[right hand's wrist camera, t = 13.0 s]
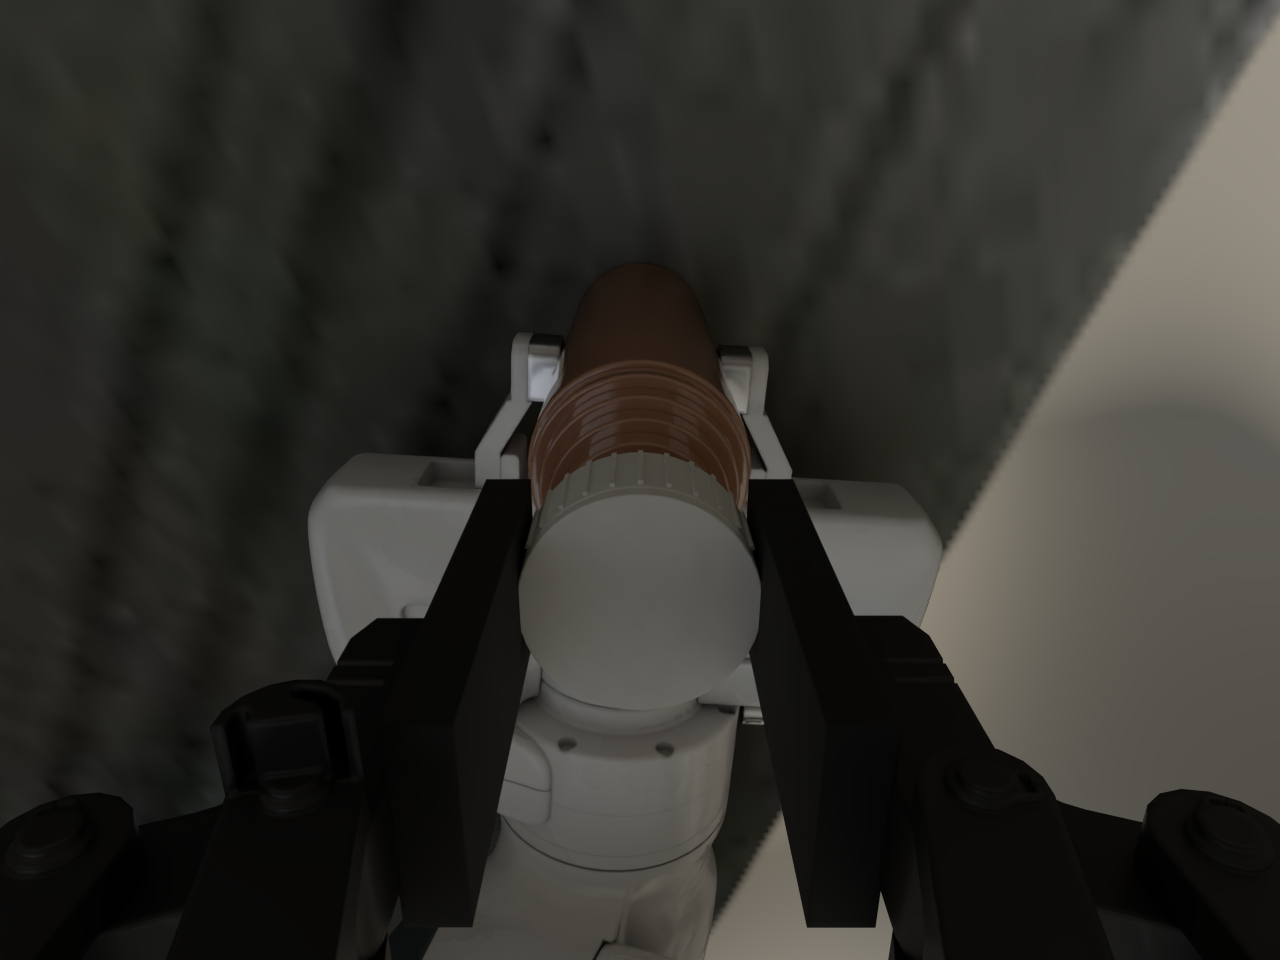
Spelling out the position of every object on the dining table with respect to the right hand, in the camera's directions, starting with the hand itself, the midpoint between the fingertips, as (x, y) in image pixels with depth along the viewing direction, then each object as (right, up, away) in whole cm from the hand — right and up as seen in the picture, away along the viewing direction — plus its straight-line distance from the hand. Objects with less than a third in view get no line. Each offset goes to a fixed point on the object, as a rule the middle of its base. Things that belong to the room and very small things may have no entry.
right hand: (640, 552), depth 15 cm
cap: (0, -1, -2) cm, 2 cm away
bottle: (0, +7, +17) cm, 19 cm away
